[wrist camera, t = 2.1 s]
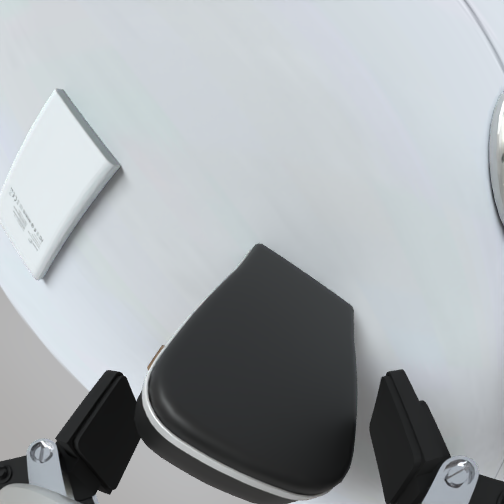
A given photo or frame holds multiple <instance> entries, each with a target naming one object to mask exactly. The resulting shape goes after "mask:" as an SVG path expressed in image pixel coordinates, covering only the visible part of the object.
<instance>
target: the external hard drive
mask: <svg viewBox="0 0 504 504" xmlns="http://www.w3.org/2000/svg"><path fill="white" fill-rule="evenodd" d="M120 167H121V165H120V163H119V162H118V161H117V160H116V158H115V157H114V156H113V155H112V153H111V152H110V151H109V150H108V148H107V147H106V146H105V145H104V143H103V142H102V141H101V139H100V138H99V137H98V135H97V134H96V133H95V132H94V130H93V129H92V128H91V126H90V125H89V124H88V122H87V121H86V120H85V118H84V117H83V116H82V114H81V113H80V112H79V110H78V109H77V108H76V106H75V105H74V104H73V102H72V101H71V99H70V98H69V97H68V95H67V94H66V92H65V91H64V90H63V89H55V90H54V92H53V93H52V95H51V96H50V98H49V99H48V101H47V102H46V104H45V105H44V107H43V109H42V110H41V112H40V114H39V115H38V117H37V119H36V120H35V122H34V124H33V126H32V127H31V129H30V131H29V133H28V135H27V136H26V138H25V140H24V142H23V144H22V146H21V148H20V150H19V152H18V154H17V156H16V158H15V160H14V162H13V165H12V167H11V169H10V171H9V173H8V176H7V178H6V180H5V183H4V185H3V188H2V190H1V193H0V224H1V226H2V227H3V229H4V231H5V233H6V234H7V236H8V238H9V240H10V241H11V243H12V245H13V246H14V248H15V250H16V251H17V253H18V255H19V256H20V258H21V259H22V261H23V263H24V264H25V266H26V267H27V269H28V270H29V272H30V273H31V275H32V276H33V277H34V278H35V279H36V280H40V279H41V278H43V277H44V276H45V274H46V272H47V270H48V269H49V267H50V266H51V264H52V262H53V260H54V259H55V257H56V256H57V254H58V252H59V251H60V249H61V248H62V246H63V244H64V243H65V241H66V240H67V238H68V237H69V235H70V234H71V232H72V231H73V229H74V228H75V226H76V225H77V223H78V222H79V220H80V219H81V217H82V216H83V215H84V213H85V212H86V210H87V209H88V208H89V206H90V205H91V204H92V202H93V201H94V200H95V198H96V197H97V195H98V194H99V193H100V191H101V190H102V189H103V188H104V186H105V185H106V184H107V182H108V181H109V180H110V179H111V177H112V176H113V175H114V174H115V172H116V171H117V170H118V169H119V168H120Z"/></svg>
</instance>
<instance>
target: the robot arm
mask: <svg viewBox="0 0 504 504" xmlns="http://www.w3.org/2000/svg"><path fill="white" fill-rule="evenodd" d="M489 164H490V173H491V183H492V188H493V193H494V198H495V203H496V206H497V209H498V212H499V216H500V219H501V221H502V223H503V225H504V91H503V92H502V94H501V95H500V97H499V99H498V102H497V104H496V106H495V109H494V113H493V118H492V122H491V129H490V140H489ZM136 403H137V402H136V400H135V397H134V395H133V393H132V390H131V388H130V385H129V383H128V380H127V378H126V377H125V376H124V375H123V374H122V373H121V372H117V371H111V370H107V371H106V372H105V373H104V374H103V375H102V377H101V378H100V379H99V381H98V382H97V383H96V384H95V386H94V387H93V388H92V390H91V391H90V392H89V394H88V395H87V396H86V398H85V399H84V400H83V402H82V403H81V405H79V407H78V408H77V409H76V411H75V412H74V413H73V415H72V416H71V418H70V419H69V420H68V422H67V423H66V424H65V426H64V427H63V428H62V430H61V431H60V433H59V434H58V435H57V437H56V438H55V439H56V440H57V442H56V443H54V442H53V441H51V440H50V439H45V438H44V439H39V440H36V441H35V442H33V443H32V444H31V445H30V446H29V448H28V450H27V455H26V456H22V457H19V458H14V459H10V460H5V461H1V462H0V504H99V502H98V499H97V496H96V492H97V490H99V491H101V492H104V493H107V494H111V492H112V490H114V489H116V488H117V486H118V484H119V482H120V480H121V478H122V475H123V473H124V471H125V469H126V467H127V465H128V463H129V461H130V459H131V457H132V455H133V453H134V451H135V448H136V446H137V444H138V442H139V440H140V438H141V437H140V435H139V434H138V432H137V429H136V425H135V421H134V416H135V408H136ZM369 428H370V435H371V439H372V443H373V448H374V452H375V456H376V460H377V465H378V469H379V473H380V478H381V483H382V487H383V492H384V497H385V502H386V504H504V482H503V481H499V480H496V479H493V478H489V477H486V476H483V475H480V474H479V468H478V466H477V464H476V462H475V461H474V460H473V459H471V458H469V457H467V456H454V457H452V458H451V456H450V454H449V451H448V449H447V447H446V444H445V442H444V440H443V438H442V435H441V433H440V431H439V429H438V427H437V424H436V422H435V420H434V418H433V416H432V414H431V412H430V410H429V408H428V405H427V404H426V402H424V401H419V400H418V398H417V396H416V394H415V392H414V390H413V387H412V385H411V383H410V381H409V379H408V377H407V375H406V373H405V371H404V370H396V371H389V372H387V373H386V376H383V377H382V378H381V382H380V386H379V391H378V395H377V399H376V403H375V407H374V411H373V414H372V418H371V422H370V427H369Z"/></svg>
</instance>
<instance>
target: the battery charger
mask: <svg viewBox="0 0 504 504" xmlns="http://www.w3.org/2000/svg"><path fill="white" fill-rule="evenodd" d="M353 320H354V310H353V307H352V306H351V305H350V304H348V303H347V302H346V301H344V300H343V299H342V298H340V297H339V296H337V295H336V294H335V293H333V292H332V291H330V290H329V289H328V288H326V287H325V286H323V285H322V284H320V283H319V282H318V281H316V280H315V279H313V278H312V277H310V276H309V275H308V274H306V273H305V272H303V271H302V270H300V269H299V268H297V267H296V266H294V265H293V264H291V263H290V262H288V261H287V260H286V259H284V258H283V257H281V256H280V255H278V254H277V253H275V252H274V251H272V250H271V249H269V248H268V247H266V246H264V245H263V244H259V243H258V244H256V245H255V246H254V247H253V248H252V250H249V251H248V253H247V254H246V256H245V257H244V258H243V260H242V261H241V262H240V263H239V265H238V266H237V267H236V268H235V269H234V270H233V272H232V273H231V274H230V275H229V276H228V277H227V278H226V279H224V280H223V281H222V282H221V283H220V284H219V285H218V286H217V287H216V288H215V289H214V290H213V291H212V292H211V293H210V294H209V295H208V296H207V297H206V298H205V299H204V300H203V301H202V302H201V303H200V304H199V305H198V307H197V308H196V309H195V310H194V311H193V312H192V313H191V314H190V315H189V317H188V318H187V319H186V320H185V321H184V323H183V324H182V325H181V326H180V327H179V329H178V330H177V331H176V332H175V334H174V335H173V336H172V337H171V339H170V340H169V341H168V342H167V344H166V345H165V346H164V348H163V349H162V350H161V352H160V353H159V354H158V356H157V357H156V359H155V360H154V362H153V364H152V365H151V367H150V369H149V371H148V373H147V375H146V377H145V379H144V383H143V387H142V391H141V393H140V395H139V397H138V399H137V403H136V408H135V416H134V421H135V425H136V429H137V432H138V434H139V435H140V437H141V438H142V440H143V441H144V443H145V444H146V445H147V446H148V447H149V448H150V449H151V450H153V451H154V452H155V453H156V454H158V455H159V456H160V457H161V458H163V459H165V460H166V461H168V462H169V463H171V464H173V465H174V466H176V467H178V468H179V469H181V470H183V471H184V472H186V473H188V474H189V475H191V476H193V477H195V478H197V479H199V480H200V481H202V482H204V483H206V484H208V485H210V486H212V487H215V488H217V489H219V490H222V491H224V492H226V493H229V494H231V495H233V496H236V497H239V498H241V499H244V500H247V501H249V502H252V503H257V504H288V503H291V502H295V501H298V500H300V501H301V500H309V499H313V498H316V497H319V496H322V495H324V494H326V493H328V492H329V491H330V490H331V489H333V487H335V486H336V485H338V484H339V483H340V482H342V480H343V479H344V477H345V475H346V474H347V472H348V470H349V469H350V465H351V461H352V457H353V451H354V442H355V431H356V416H357V375H356V357H355V346H354V323H353Z"/></svg>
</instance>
